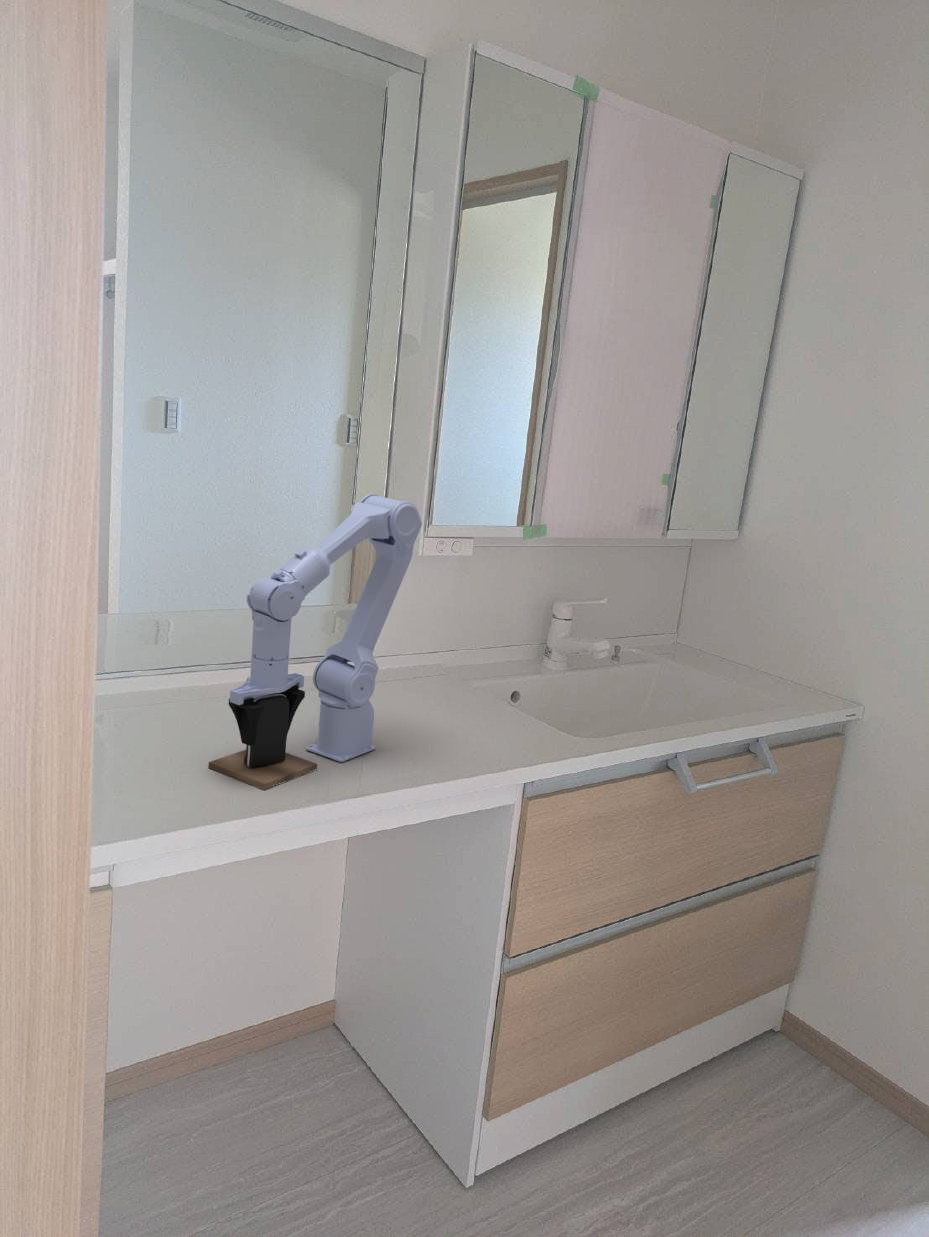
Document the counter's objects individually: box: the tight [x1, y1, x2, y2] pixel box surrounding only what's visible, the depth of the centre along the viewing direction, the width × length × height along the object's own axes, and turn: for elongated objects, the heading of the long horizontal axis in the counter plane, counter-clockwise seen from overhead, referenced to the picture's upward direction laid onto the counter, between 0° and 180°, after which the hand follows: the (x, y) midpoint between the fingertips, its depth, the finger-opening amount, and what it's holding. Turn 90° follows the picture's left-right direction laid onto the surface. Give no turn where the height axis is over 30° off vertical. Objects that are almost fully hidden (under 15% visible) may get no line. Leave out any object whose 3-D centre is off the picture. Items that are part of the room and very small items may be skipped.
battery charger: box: [244, 693, 289, 768], centre depth 157 cm, size 7×4×11 cm, turn 135°
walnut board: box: [208, 749, 318, 790], centre depth 158 cm, size 12×12×1 cm
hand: (265, 738), depth 157 cm, fingers open, 7 cm apart
